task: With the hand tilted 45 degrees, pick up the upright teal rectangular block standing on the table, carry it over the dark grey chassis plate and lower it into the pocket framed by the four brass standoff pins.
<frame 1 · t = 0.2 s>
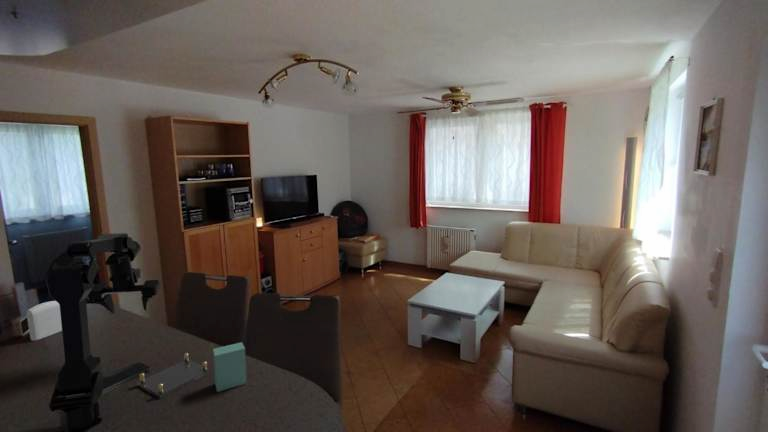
hand: (130, 311, 119), 15 cm above the table, tool pointing down, fingers open, 9 cm apart
teal rectangular block: (230, 383, 106), on the table
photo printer: (48, 335, 135), on the table
chassis: (175, 378, 108), on the table
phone: (118, 380, 108), on the table
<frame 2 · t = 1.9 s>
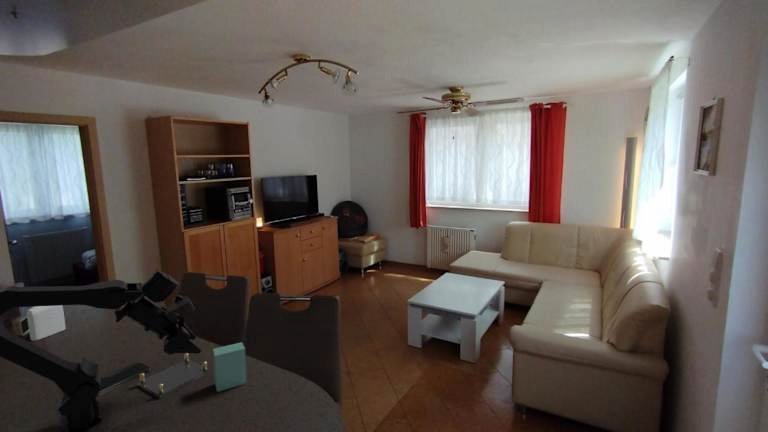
hand: (197, 344, 102), 13 cm above the table, tool tilted 45°, fingers open, 9 cm apart
nothing on the table moved.
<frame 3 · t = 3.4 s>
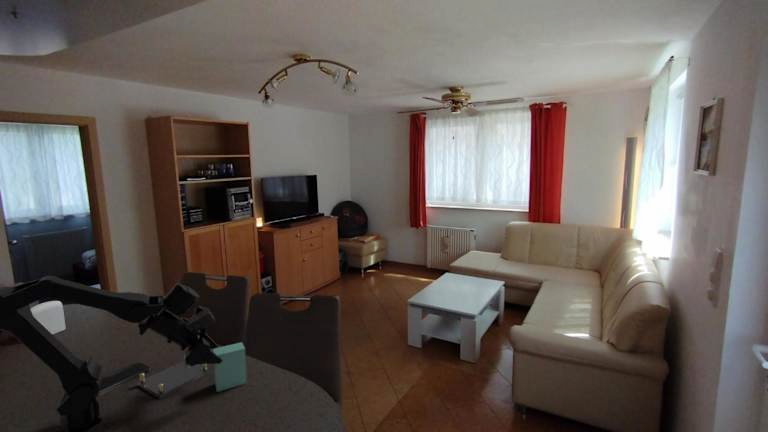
hand: (218, 354, 104), 10 cm above the table, tool tilted 45°, fingers open, 9 cm apart
nothing on the table moved.
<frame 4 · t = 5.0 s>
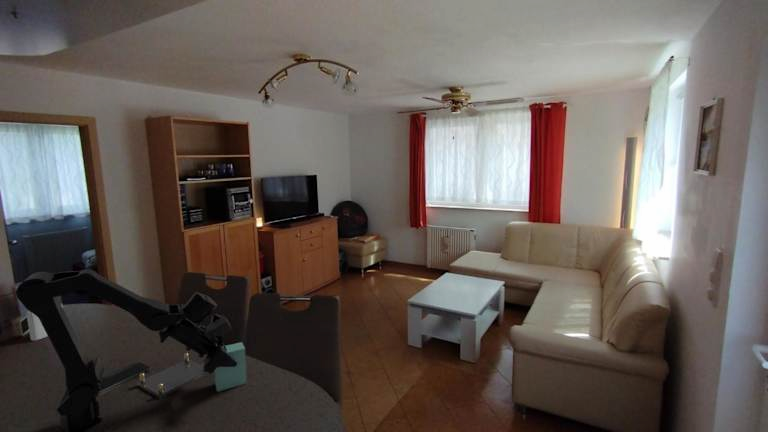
hand: (234, 361, 106), 7 cm above the table, tool tilted 45°, fingers closed on teal rectangular block, 4 cm apart
teal rectangular block: (230, 383, 106), on the table, touching gripper
everything else where it was.
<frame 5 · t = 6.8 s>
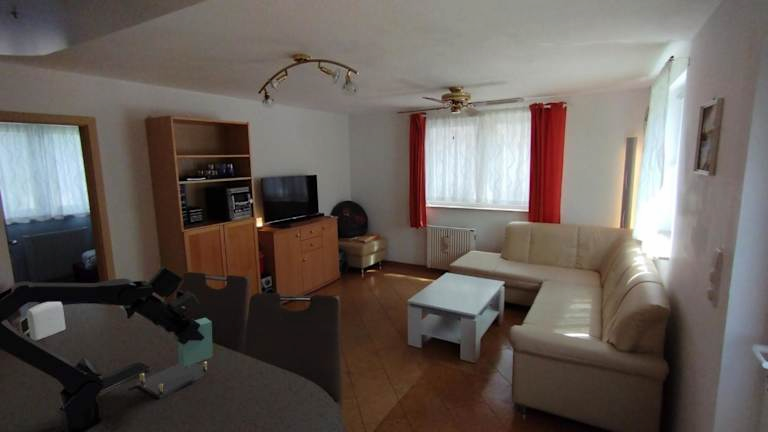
hand: (199, 336, 108), 13 cm above the table, tool tilted 45°, fingers closed on teal rectangular block, 4 cm apart
teal rectangular block: (195, 358, 108), point 6 cm above the table, touching gripper
everything else where it was.
when the fingers open (9 cm above the table, at t = 8.5 s): teal rectangular block drops 1 cm, resting on chassis.
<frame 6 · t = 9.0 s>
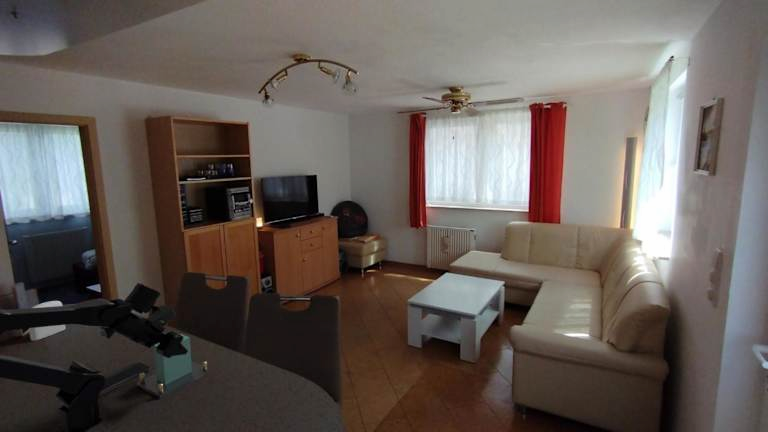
hand: (177, 348, 108), 9 cm above the table, tool tilted 45°, fingers open, 9 cm apart
teal rectangular block: (174, 375, 108), point 1 cm above the table, touching chassis
everything else where it was.
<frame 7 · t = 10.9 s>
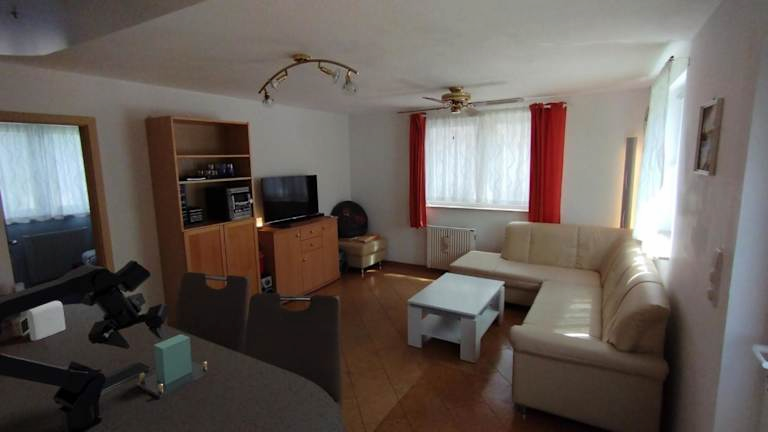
hand: (145, 342, 103), 13 cm above the table, tool tilted 25°, fingers open, 9 cm apart
nothing on the table moved.
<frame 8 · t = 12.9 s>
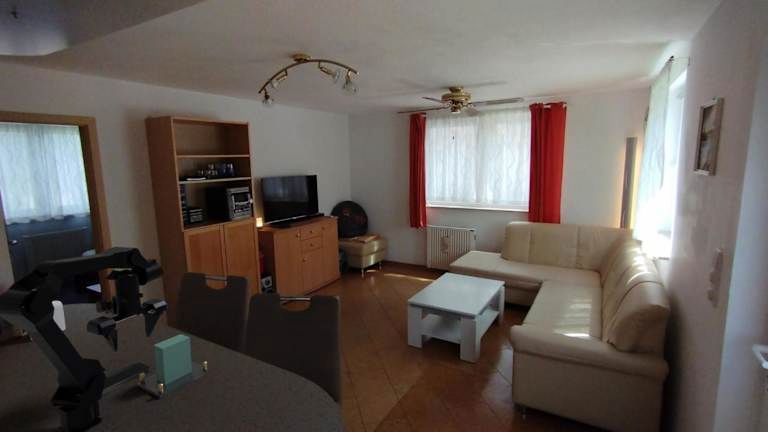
hand: (132, 343, 103), 13 cm above the table, tool pointing down, fingers open, 9 cm apart
nothing on the table moved.
at the end: teal rectangular block 0.0 cm off-centre on the chassis, point 1.0 cm above the chassis's base; teal rectangular block tilted 0°; the gripper is holding nothing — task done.
